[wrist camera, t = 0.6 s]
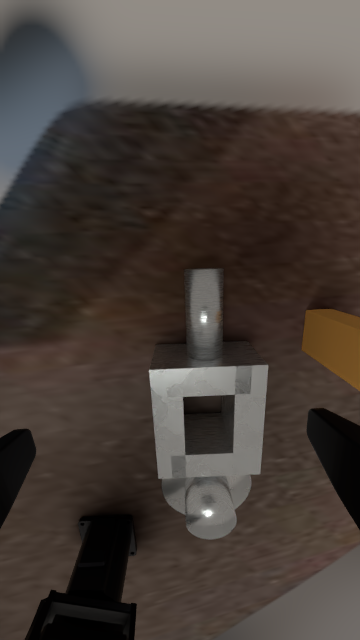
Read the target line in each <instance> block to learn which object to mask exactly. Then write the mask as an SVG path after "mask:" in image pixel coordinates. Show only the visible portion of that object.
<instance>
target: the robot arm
mask: <svg viewBox="0 0 360 640" xmlns="http://www.w3.org/2000/svg"><path fill="white" fill-rule="evenodd" d="M307 435H308V438H309V440H310V442H311V444H312V446H313V448H314V450H315V452H316V454H317V456H318V458H319V460H320V462H321V464H322V466H323V468H324V469H325V471H326V473H327V475H328V477H329V479H330V481H331V483H332V485H333V487H334V489H335V491H336V492H337V494H338V496H339V497H340V499H341V501H342V502H343V504H344V506H345V507H346V509H347V510H348V512H349V514H350V515H351V517H352V518H353V520H354V522H355V523H356V525H357V527H358V528H359V530H360V426H359V425H357V424H355V423H353V422H351V421H349V420H347V419H345V418H343V417H341V416H339V415H337V414H335V413H333V412H331V411H329V410H327V409H324V408H314V409H310V410H309V412H308V421H307ZM35 455H36V447H35V443H34V440H33V437H32V434H31V431H30V430H29V429H16V430H13V431H11V432H10V433H8V434H6V435H4V436H3V437H1V438H0V528H1V526H2V525H3V523H4V521H5V519H6V517H7V515H8V513H9V511H10V509H11V507H12V505H13V503H14V501H15V499H16V497H17V495H18V492H19V490H20V488H21V486H22V484H23V482H24V480H25V477H26V475H27V473H28V471H29V469H30V467H31V465H32V462H33V460H34V458H35ZM78 526H79V530H80V535H81V539H82V545H81V548H80V551H79V554H78V557H77V560H76V563H75V566H74V569H73V572H72V575H71V578H70V581H69V584H68V587H67V590H66V593H59V592H56V590H51V591H50V594H49V596H48V597H47V598H46V599H43V600H41V602H40V605H39V607H38V609H37V612H36V614H35V617H34V619H33V622H32V624H31V627H30V629H29V631H28V633H27V635H26V638H25V640H134V635H135V621H136V606H137V604H136V603H131V604H127V603H121V599H122V593H123V587H124V581H125V575H126V569H127V563H128V557H129V556H134V555H136V552H137V546H136V539H135V531H134V524H133V518H132V516H129V515H126V516H104V517H83V518H80V520H79V522H78Z"/></svg>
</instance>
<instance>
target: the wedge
mask: <svg viewBox="0 0 360 640" xmlns="http://www.w3.org/2000/svg"><path fill="white" fill-rule="evenodd" d="M302 351H304V352H305V353H307V354H308V355H309V356H311V357H312V358H314V359H315V360H317V361H318V362H319V363H321V364H322V365H324V366H325V367H327V368H328V369H329V370H331V371H332V372H334V373H335V374H336V375H338V376H339V377H341V378H342V379H344V380H345V381H346V382H348V383H349V384H351V385H352V386H353V387H355V388H356V389H358V390H359V391H360V317H357V316H354V315H350V314H347V313H344V312H340V311H337V310H334V309H317V310H306V315H305V324H304V333H303V341H302Z"/></svg>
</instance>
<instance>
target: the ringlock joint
mask: <svg viewBox="0 0 360 640" xmlns="http://www.w3.org/2000/svg"><path fill="white" fill-rule="evenodd" d="M223 280H224V268H197V269H185V270H184V282H185V311H186V341H187V343H184V344H160V345H155V349H154V353H153V357H152V361H151V365H150V369H149V373H150V385H151V397H152V408H153V420H154V432H155V444H156V455H157V467H158V479H162V492H163V495H164V497H165V499H166V501H167V502H168V503H169V505H170V506H171V507H173V508H174V509H175V510H177V511H178V512H180V513H182V514H184V515H186V526H187V528H188V530H189V531H190V532H191V533H192V534H193V535H195V536H196V537H199V538H202V539H217V538H221V537H224V536H226V535H227V534H229V533H230V532H231V531H232V530H233V529H234V527H235V525H236V521H237V518H236V514H235V509H236V508H237V507H238V506H240V505H241V504H242V503H243V502H244V500H245V499H246V498H247V496H248V494H249V492H250V488H251V476H250V475H254V474H260V470H261V457H262V443H263V430H264V416H265V403H266V389H267V376H268V364H267V363H266V362H265V361H264V359H263V358H262V357H261V356H260V355H259V354H258V353H257V351H256V350H255V349H254V348H253V347H252V346H251V345H250V344H249V342H248V341H231V342H223ZM214 395H222V396H221V413H203V414H184V411H183V397H191V396H214Z"/></svg>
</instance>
